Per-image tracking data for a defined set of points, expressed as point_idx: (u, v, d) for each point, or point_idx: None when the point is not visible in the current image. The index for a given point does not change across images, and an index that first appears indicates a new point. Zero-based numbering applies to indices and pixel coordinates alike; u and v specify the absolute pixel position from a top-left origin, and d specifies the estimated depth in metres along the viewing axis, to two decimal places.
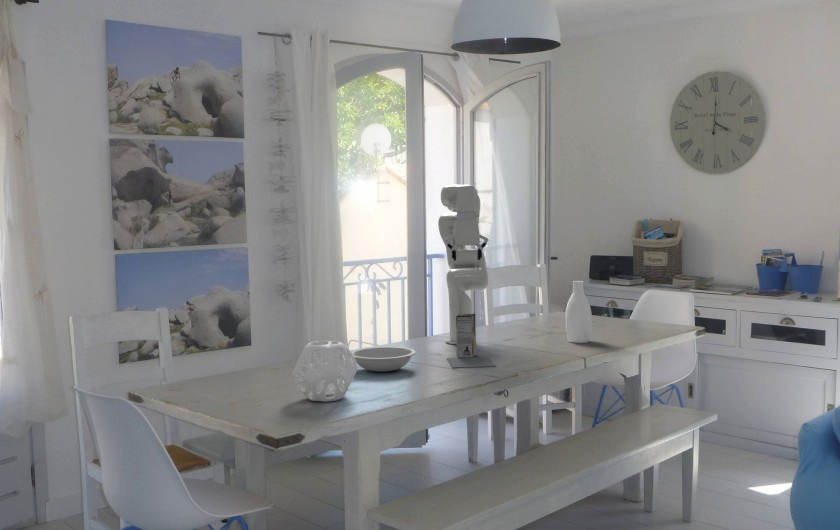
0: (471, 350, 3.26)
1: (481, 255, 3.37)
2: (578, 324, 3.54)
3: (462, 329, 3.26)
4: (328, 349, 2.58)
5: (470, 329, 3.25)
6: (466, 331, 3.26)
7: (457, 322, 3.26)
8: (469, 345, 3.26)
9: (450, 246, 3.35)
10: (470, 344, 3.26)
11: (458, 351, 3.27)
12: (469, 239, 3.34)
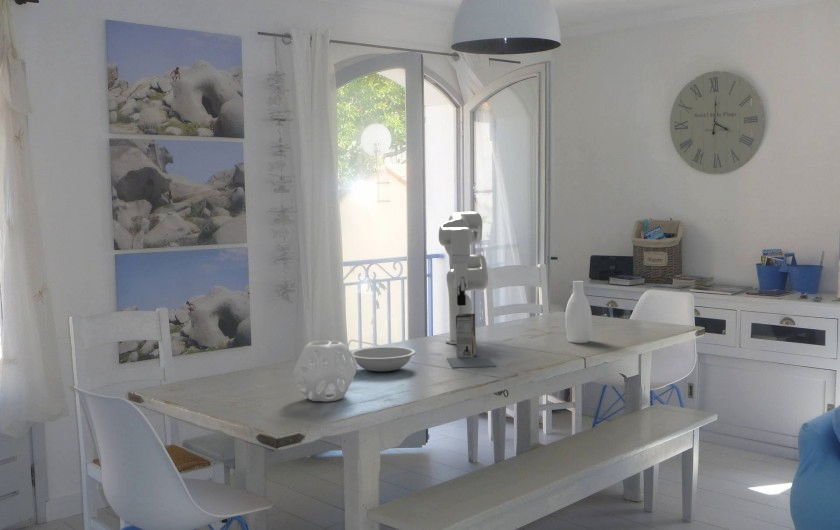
0: (471, 350, 3.26)
1: None
2: (578, 324, 3.54)
3: (461, 329, 3.26)
4: (328, 349, 2.58)
5: (470, 329, 3.25)
6: (466, 331, 3.26)
7: (457, 322, 3.26)
8: (469, 345, 3.26)
9: (463, 291, 3.39)
10: (470, 344, 3.26)
11: (458, 351, 3.27)
12: None
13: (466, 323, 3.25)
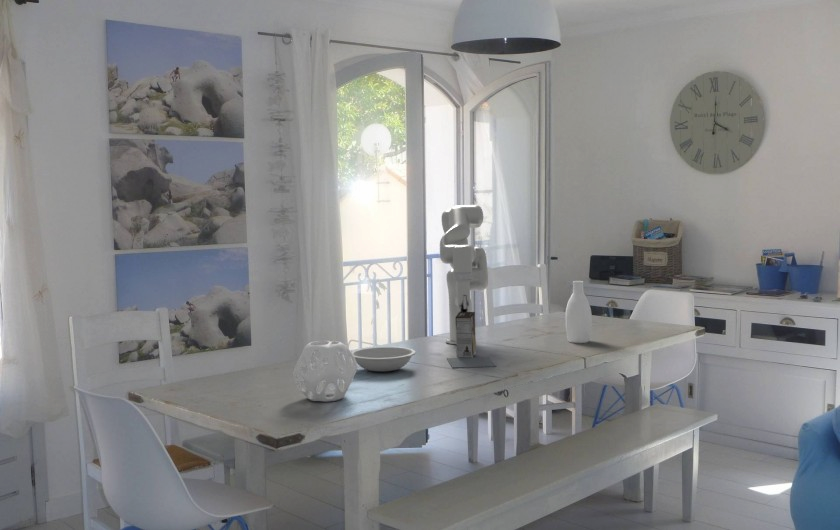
0: (471, 350, 3.25)
1: None
2: (578, 324, 3.54)
3: (461, 330, 3.25)
4: (328, 349, 2.58)
5: (470, 330, 3.24)
6: (466, 332, 3.24)
7: (457, 323, 3.24)
8: (469, 345, 3.25)
9: (466, 310, 3.33)
10: (470, 344, 3.25)
11: (458, 351, 3.26)
12: None
13: (466, 324, 3.24)
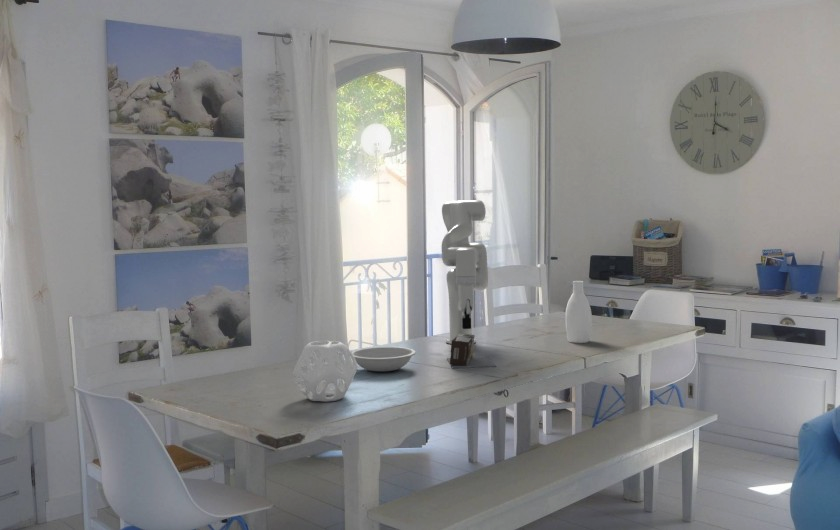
0: (470, 358, 3.23)
1: None
2: (578, 324, 3.54)
3: None
4: (328, 349, 2.58)
5: None
6: None
7: None
8: None
9: None
10: None
11: None
12: None
13: None
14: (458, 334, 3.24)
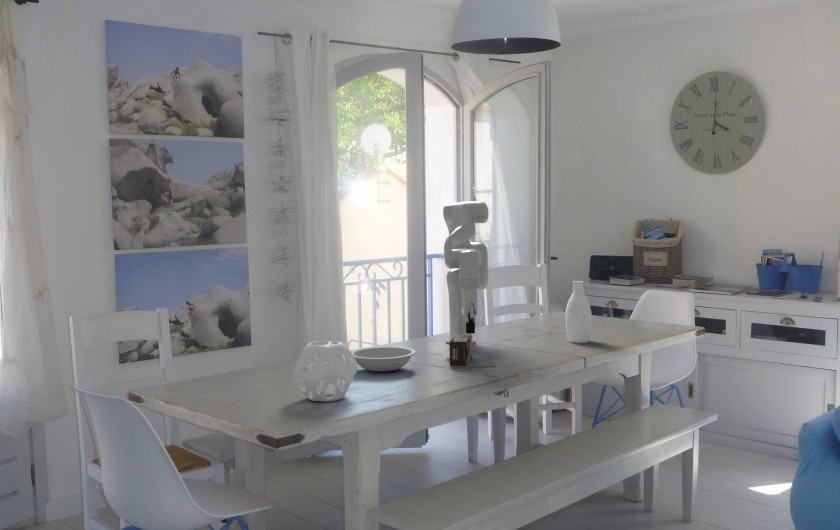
0: (470, 358, 3.23)
1: None
2: (578, 324, 3.54)
3: None
4: (328, 349, 2.58)
5: None
6: None
7: None
8: None
9: None
10: None
11: None
12: None
13: None
14: (456, 335, 3.24)
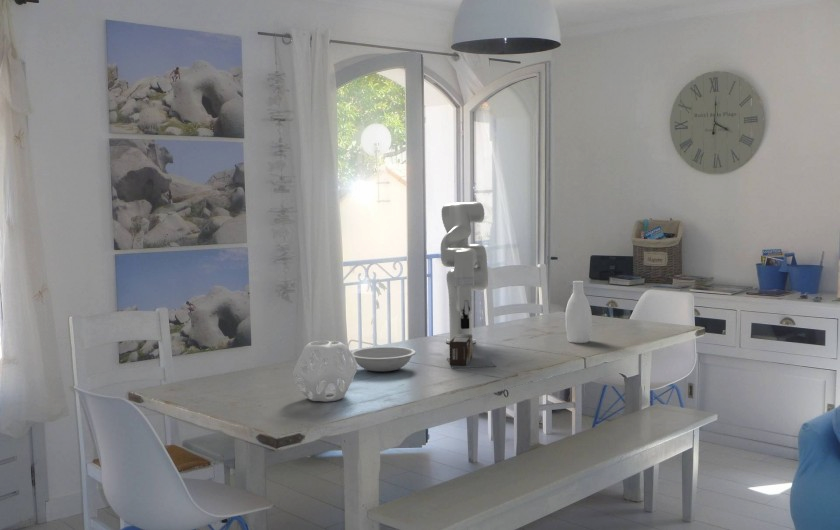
0: (470, 358, 3.23)
1: None
2: (578, 324, 3.54)
3: None
4: (328, 349, 2.58)
5: None
6: None
7: None
8: None
9: None
10: None
11: None
12: None
13: None
14: (456, 335, 3.24)
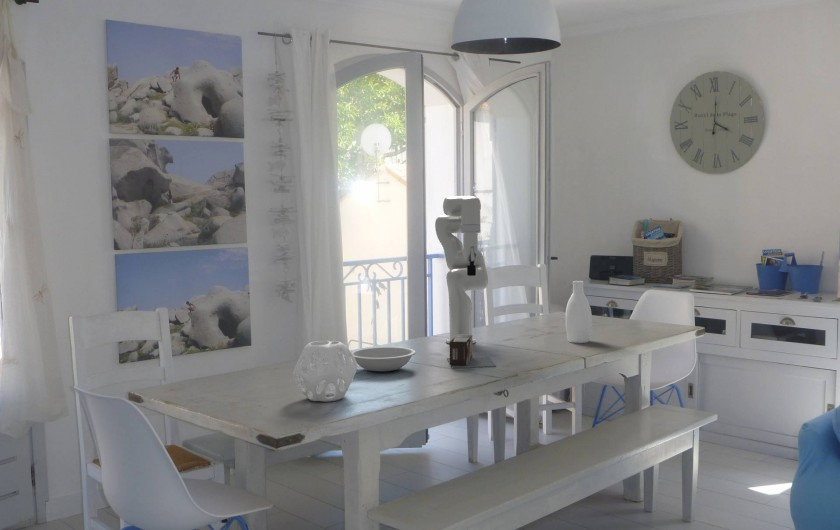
0: (470, 358, 3.23)
1: None
2: (578, 324, 3.54)
3: None
4: (328, 349, 2.58)
5: None
6: None
7: None
8: None
9: (473, 261, 3.35)
10: None
11: None
12: None
13: None
14: (456, 335, 3.24)
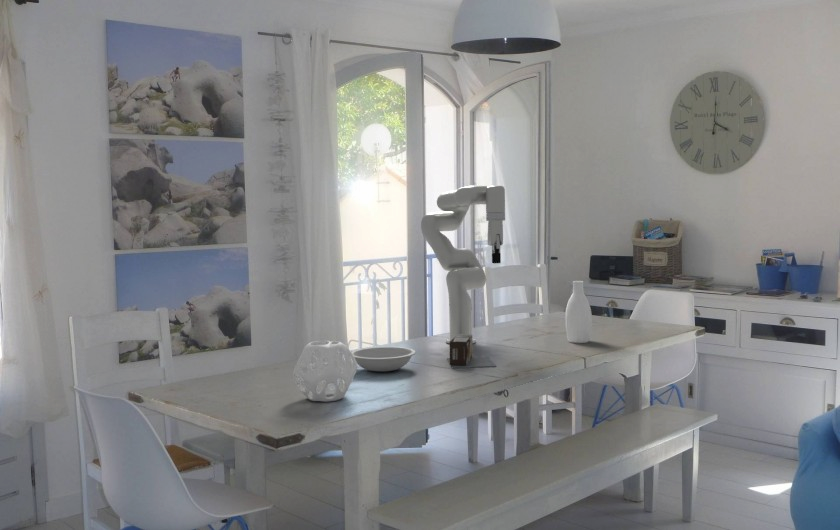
0: (470, 358, 3.23)
1: None
2: (578, 324, 3.54)
3: None
4: (328, 349, 2.58)
5: None
6: None
7: None
8: None
9: None
10: None
11: None
12: None
13: None
14: (456, 335, 3.24)
